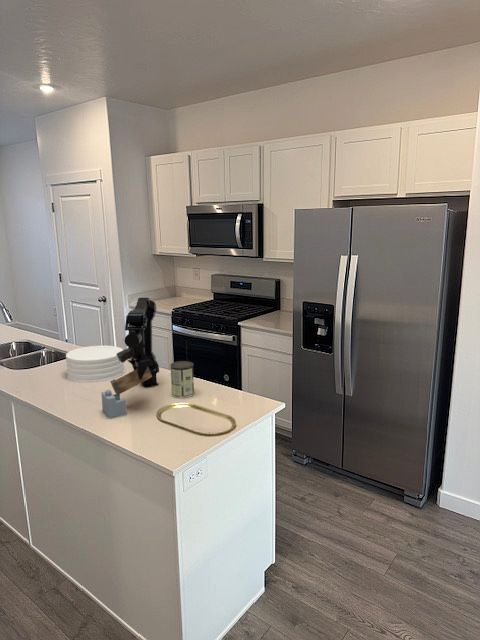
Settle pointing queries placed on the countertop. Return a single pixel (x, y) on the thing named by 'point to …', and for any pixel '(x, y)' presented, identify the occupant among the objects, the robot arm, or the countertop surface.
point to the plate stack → (94, 364)
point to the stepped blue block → (113, 404)
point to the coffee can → (182, 379)
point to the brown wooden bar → (129, 381)
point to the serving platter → (199, 410)
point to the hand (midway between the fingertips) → (138, 378)
